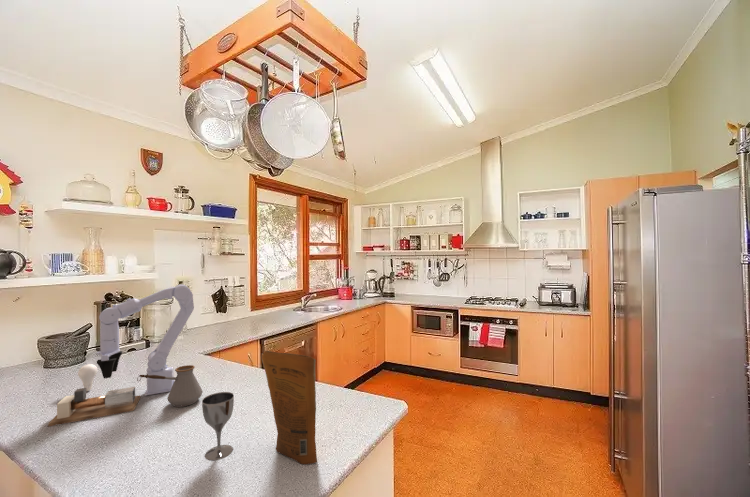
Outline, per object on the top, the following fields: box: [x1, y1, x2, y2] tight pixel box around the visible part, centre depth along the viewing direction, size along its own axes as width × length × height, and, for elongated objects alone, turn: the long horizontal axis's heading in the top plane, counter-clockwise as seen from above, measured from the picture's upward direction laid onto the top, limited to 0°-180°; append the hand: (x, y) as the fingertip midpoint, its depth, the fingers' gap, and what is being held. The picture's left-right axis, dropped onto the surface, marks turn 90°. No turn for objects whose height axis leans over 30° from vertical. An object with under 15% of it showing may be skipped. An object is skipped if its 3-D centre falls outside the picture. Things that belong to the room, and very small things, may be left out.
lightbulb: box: [77, 363, 99, 392], centre depth 137 cm, size 6×6×11 cm
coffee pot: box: [136, 364, 204, 408], centre depth 121 cm, size 21×12×15 cm, turn 148°
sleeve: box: [104, 386, 136, 409], centre depth 122 cm, size 8×5×5 cm, turn 116°
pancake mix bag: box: [261, 350, 318, 466], centre depth 90 cm, size 7×19×28 cm, turn 54°
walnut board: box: [47, 394, 141, 427], centre depth 119 cm, size 23×12×1 cm, turn 116°
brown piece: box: [71, 387, 105, 410], centre depth 118 cm, size 14×3×6 cm, turn 116°
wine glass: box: [201, 391, 235, 461], centre depth 92 cm, size 8×8×15 cm
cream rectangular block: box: [56, 394, 75, 419], centre depth 115 cm, size 3×7×5 cm, turn 26°
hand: (110, 374), depth 128 cm, fingers open, 7 cm apart
